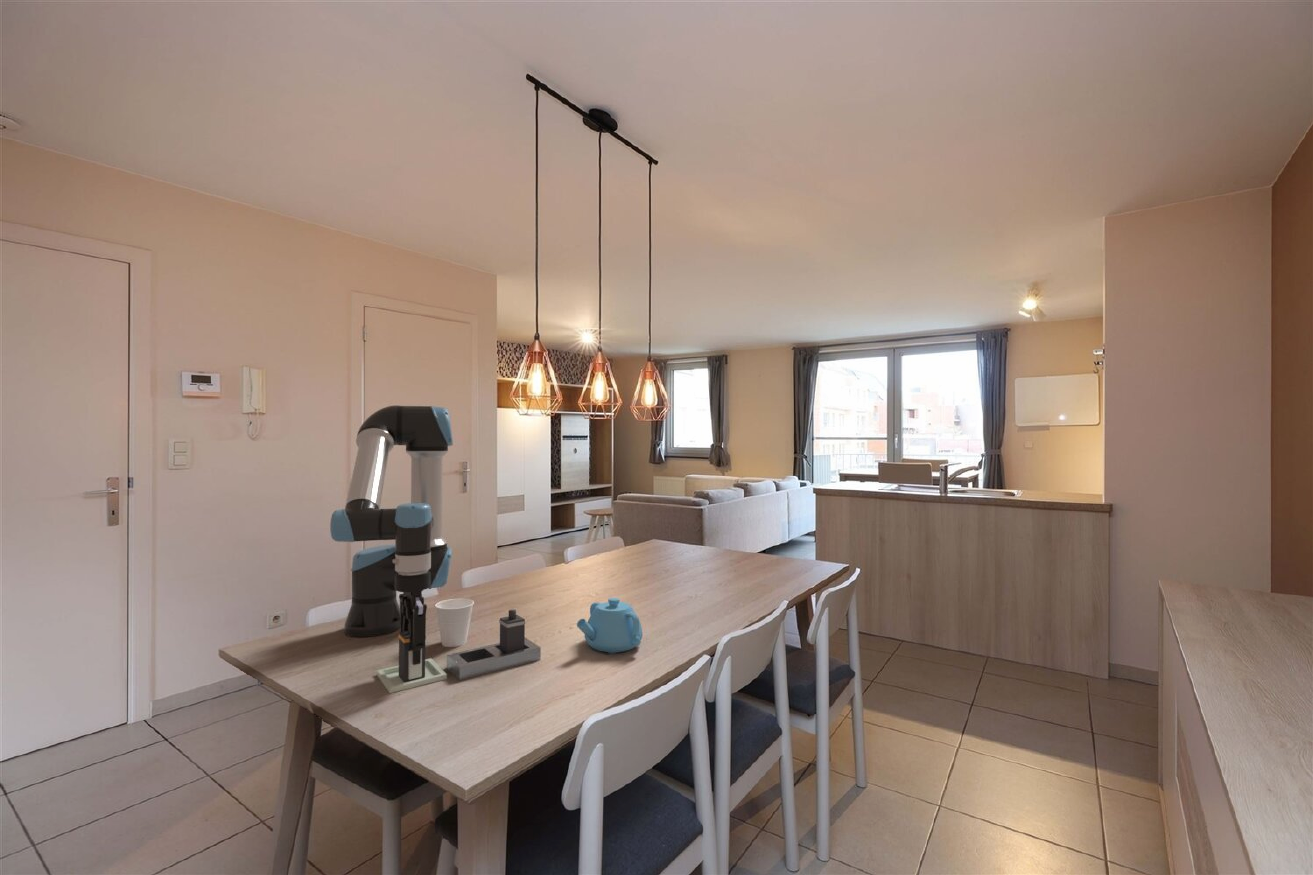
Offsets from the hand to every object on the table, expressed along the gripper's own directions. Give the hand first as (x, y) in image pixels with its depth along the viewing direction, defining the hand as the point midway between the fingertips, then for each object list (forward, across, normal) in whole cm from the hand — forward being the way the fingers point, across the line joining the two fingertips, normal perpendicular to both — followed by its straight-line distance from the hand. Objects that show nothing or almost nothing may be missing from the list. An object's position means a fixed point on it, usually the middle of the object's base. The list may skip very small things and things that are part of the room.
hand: (411, 673), depth 129 cm
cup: (+1, -16, +15) cm, 22 cm away
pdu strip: (+1, +4, +18) cm, 18 cm away
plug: (+1, 0, 0) cm, 1 cm away
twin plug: (+1, +4, +22) cm, 23 cm away
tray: (+1, 0, 0) cm, 1 cm away
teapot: (+1, +11, +46) cm, 47 cm away
